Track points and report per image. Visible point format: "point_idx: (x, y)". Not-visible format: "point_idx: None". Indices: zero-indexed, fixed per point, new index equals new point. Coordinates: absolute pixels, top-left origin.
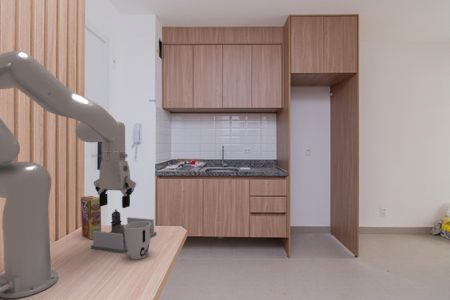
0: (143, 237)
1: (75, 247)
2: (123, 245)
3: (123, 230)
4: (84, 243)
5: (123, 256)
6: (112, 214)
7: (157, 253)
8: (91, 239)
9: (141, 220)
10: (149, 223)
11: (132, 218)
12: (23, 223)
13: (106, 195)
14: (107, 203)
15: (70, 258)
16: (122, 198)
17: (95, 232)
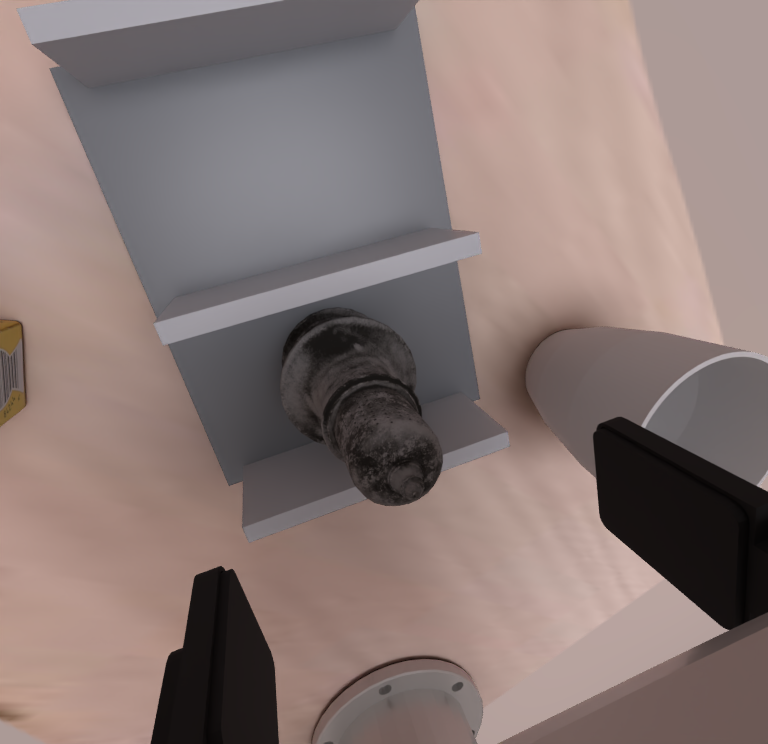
0: (711, 426)
1: (109, 527)
2: (416, 362)
3: (354, 323)
4: (72, 464)
5: (498, 416)
6: (398, 505)
7: (627, 293)
8: (24, 403)
9: (279, 10)
10: (759, 361)
11: (132, 29)
12: None
13: (229, 730)
14: (228, 574)
15: (276, 587)
16: (717, 612)
17: (276, 528)
